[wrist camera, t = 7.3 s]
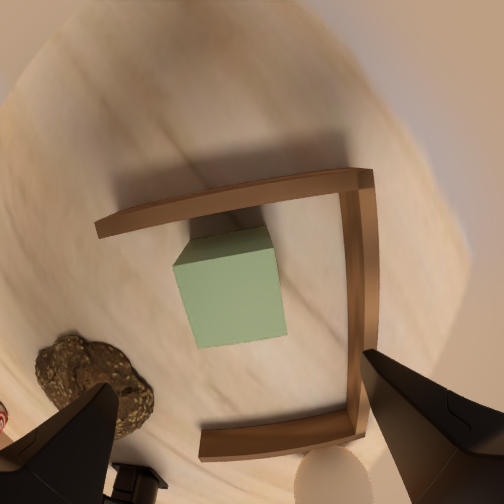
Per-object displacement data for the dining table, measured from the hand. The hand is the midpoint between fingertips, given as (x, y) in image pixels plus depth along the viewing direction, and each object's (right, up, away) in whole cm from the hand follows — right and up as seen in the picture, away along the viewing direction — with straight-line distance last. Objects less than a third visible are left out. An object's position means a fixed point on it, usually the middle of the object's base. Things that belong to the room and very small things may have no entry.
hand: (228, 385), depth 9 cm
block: (0, +3, +10) cm, 11 cm away
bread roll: (-14, -9, +14) cm, 22 cm away
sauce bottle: (+9, -18, +17) cm, 26 cm away
